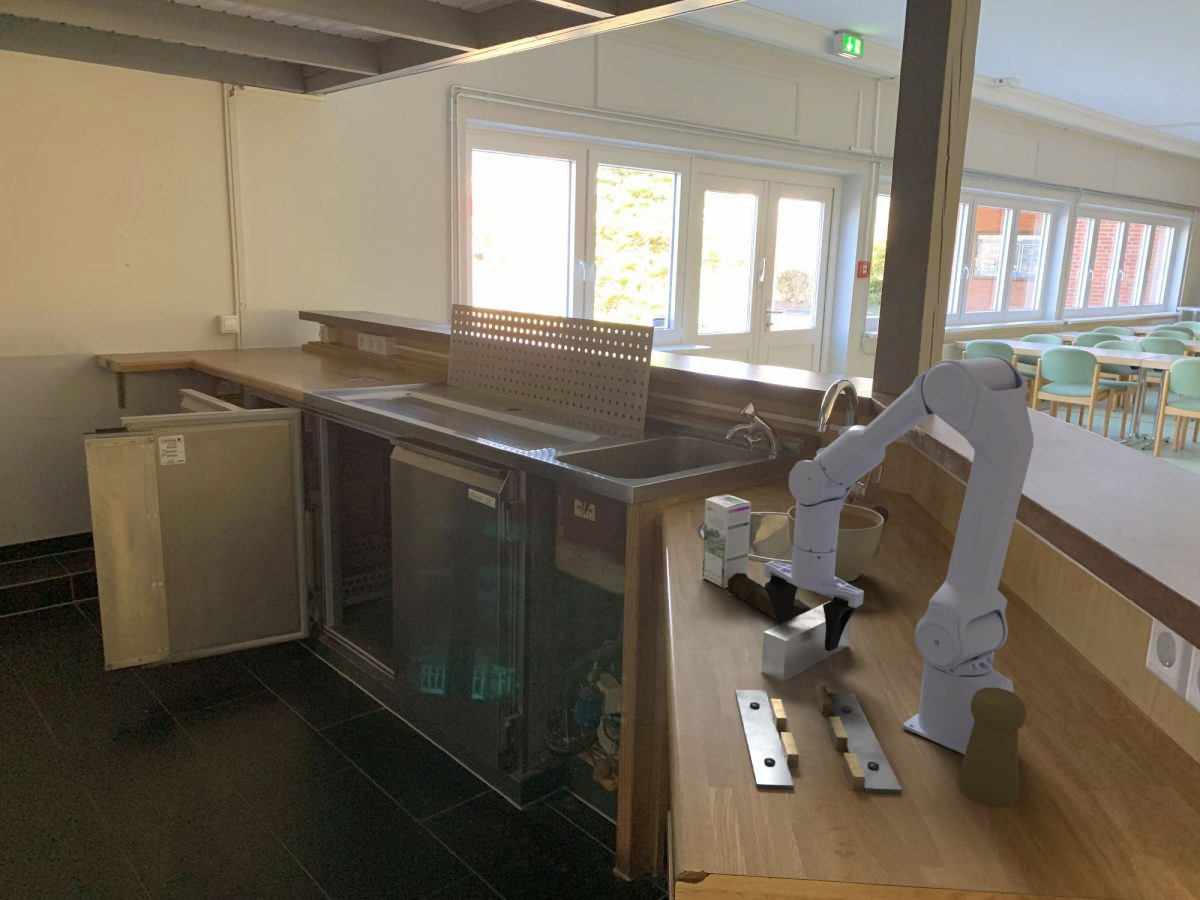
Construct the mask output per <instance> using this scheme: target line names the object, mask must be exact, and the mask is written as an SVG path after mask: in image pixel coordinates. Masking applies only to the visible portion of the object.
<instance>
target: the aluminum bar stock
mask: <svg viewBox="0 0 1200 900" xmlns="http://www.w3.org/2000/svg"><path fill="white" fill-rule="evenodd" d="M830 601H831V600H829V601H827V602H825V603H823V604H821V605H818V606H817V607H814V608H813V609H812V608H811V610H810V611H808V612H805V613H803V614H801V615H799V616H797V617H795V618H793V619H791V620H788V621H786V622H784V623H782V624H780V625H775V626H774V627H772V628H770V629H768V630H765V631H763V639H762V640H763V642H762V643H763V644H762V655H761V656H762V657H761V671H760V672H761V673H763V674H764V675H767V676H769V677H771V678H774V679H777V680H778V681H781V682H785V681H787V680H789V679H790V678H793V677H794V676H796V675H798V674H799V673H802V672H803V671H806V670H807V669H809V668H811V667H813V666H814V665H816V664H818V663H820V662H822V661H823V660H825V659H827V658H829V657H830V655H831V656H833V655H835V654H836V653H838V652H840V651H841V650H843V649H845V648H847V647H849V642H850V632H851V631H850V630H851V620H852V616H851V617H850V619H849V621H848V622H847V624H846V626H845V628H844V630H843V633H842V635H841V638H840V641H839V644H838V647H837V648H836V649H834V650H832V651H827V650H825V634H826V621H825V614H824V609H823V605H824V604H826V603H828V602H830ZM835 652H836V653H835ZM832 654H833V655H832ZM828 656H829V657H828ZM826 657H827V658H826ZM824 658H825V659H824ZM822 659H823V660H822ZM821 660H822V661H821ZM819 661H820V662H819ZM812 665H813V666H812Z"/></svg>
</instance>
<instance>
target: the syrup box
mask: <svg viewBox="0 0 1200 900" xmlns="http://www.w3.org/2000/svg"><path fill="white" fill-rule="evenodd" d="M751 512H752V502H751V501H748V500H745V499H743V498H739V497H737V496H734V495H731V494H720V495H715V496H712V497H709V498H705V501H704V524H703V525H704V526H703V549H702V551H703V552H702V573H701V574H702V576H703V577H705V578H707V579H709V580H711V581H713V582H715V583H717V584H719V585H720V586H722V587H727V586H728V579H729V578H731V577H732V576H733V575H734V574H736V573H745V574H746V575H747V576H749V575H748V574H749V572H748V571H749V551H750V549H749V548H750V536H751V535H750V533H751V518H752V517H751V514H752V513H751ZM720 586H719V587H720ZM722 587H721V588H722Z"/></svg>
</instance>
